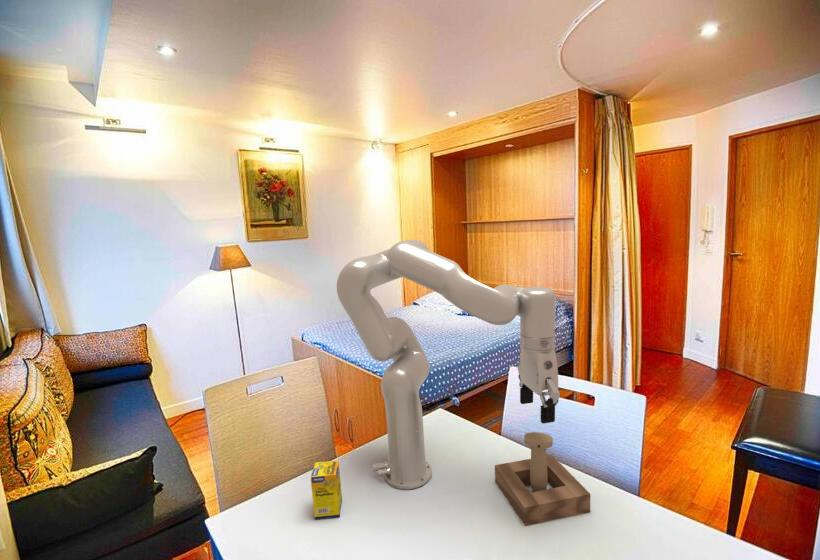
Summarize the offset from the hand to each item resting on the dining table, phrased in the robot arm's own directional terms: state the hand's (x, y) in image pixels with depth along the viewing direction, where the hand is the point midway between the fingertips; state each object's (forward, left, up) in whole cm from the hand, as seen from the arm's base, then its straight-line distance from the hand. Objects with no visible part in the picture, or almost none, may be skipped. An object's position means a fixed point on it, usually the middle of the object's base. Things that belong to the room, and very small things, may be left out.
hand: (536, 412), depth 95 cm
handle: (0, 0, -22) cm, 22 cm away
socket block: (0, 0, -21) cm, 21 cm away
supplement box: (-50, +9, -22) cm, 55 cm away
